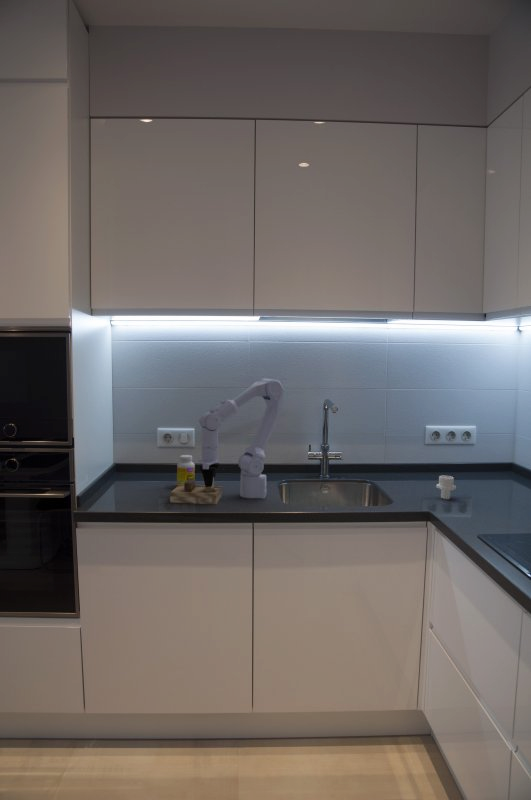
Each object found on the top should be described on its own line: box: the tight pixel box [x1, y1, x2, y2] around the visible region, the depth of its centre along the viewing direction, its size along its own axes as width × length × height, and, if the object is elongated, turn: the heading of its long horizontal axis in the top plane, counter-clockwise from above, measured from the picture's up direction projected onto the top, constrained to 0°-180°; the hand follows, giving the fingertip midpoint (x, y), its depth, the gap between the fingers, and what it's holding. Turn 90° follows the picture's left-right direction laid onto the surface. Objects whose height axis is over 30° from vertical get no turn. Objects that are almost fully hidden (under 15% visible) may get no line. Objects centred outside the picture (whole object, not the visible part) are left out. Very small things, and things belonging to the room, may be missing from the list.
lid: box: [171, 479, 221, 496], centre depth 192 cm, size 16×9×4 cm, turn 85°
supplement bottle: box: [176, 454, 196, 487], centre depth 209 cm, size 7×7×13 cm
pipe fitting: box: [435, 475, 457, 500], centre depth 204 cm, size 6×7×8 cm
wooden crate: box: [169, 484, 223, 505], centre depth 192 cm, size 16×11×4 cm
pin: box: [204, 477, 215, 492], centre depth 191 cm, size 3×3×7 cm
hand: (209, 485), depth 191 cm, fingers closed on pin, 3 cm apart
